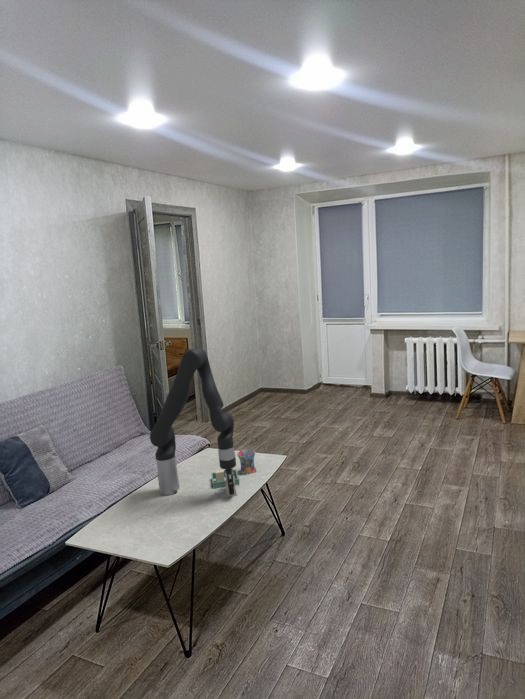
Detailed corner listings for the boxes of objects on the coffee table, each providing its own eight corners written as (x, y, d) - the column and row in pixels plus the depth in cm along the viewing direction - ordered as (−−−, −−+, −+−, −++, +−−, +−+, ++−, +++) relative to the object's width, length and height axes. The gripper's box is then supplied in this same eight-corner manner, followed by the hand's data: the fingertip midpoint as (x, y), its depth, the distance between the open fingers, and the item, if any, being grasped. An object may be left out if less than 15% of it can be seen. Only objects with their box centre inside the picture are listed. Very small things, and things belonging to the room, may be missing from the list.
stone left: (216, 484, 245) (215, 473, 244) (216, 481, 249) (214, 470, 248) (224, 483, 246) (223, 471, 245) (224, 480, 250) (222, 468, 249)
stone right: (227, 495, 231) (225, 483, 230) (226, 492, 235) (225, 479, 234) (235, 494, 232) (234, 481, 231) (235, 490, 236) (233, 478, 235)
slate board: (215, 501, 229) (215, 499, 229) (214, 494, 236) (214, 492, 236) (237, 497, 231) (237, 495, 231) (236, 491, 238) (235, 489, 237)
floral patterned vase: (253, 476, 252) (251, 456, 250) (236, 475, 255) (234, 455, 254) (261, 467, 263) (259, 448, 261) (245, 466, 266) (243, 447, 265)
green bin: (213, 490, 241) (212, 483, 240) (212, 480, 253) (211, 473, 252) (239, 486, 242) (238, 478, 242) (237, 476, 255) (236, 469, 254)
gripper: (217, 452, 237) (221, 485, 240) (220, 463, 223) (224, 498, 226) (233, 450, 238) (237, 483, 241) (236, 460, 224) (240, 495, 227)
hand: (231, 490), depth 233 cm, fingers open, 7 cm apart
